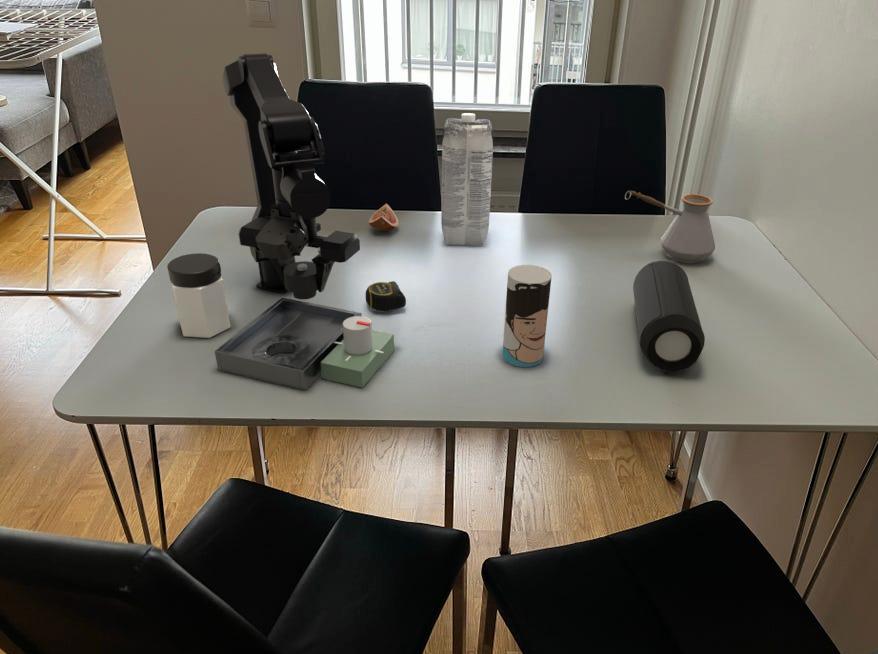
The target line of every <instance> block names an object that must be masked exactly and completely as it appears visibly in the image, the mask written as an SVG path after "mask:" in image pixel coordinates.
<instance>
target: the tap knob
mask: <svg viewBox="0 0 878 654" xmlns="http://www.w3.org/2000/svg"><path fill="white" fill-rule="evenodd" d="M372 330H373V329H372V321H371V319H370V318H368V317H366V316H363V315H362V316H354V317H350V318H347V319H346V320H344V322H343V335H344V348H345V351H346V352H348V353H350V354H354V355H361V354H365V353H368V352H369V351H371V350H372Z"/></svg>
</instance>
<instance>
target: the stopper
mask: <svg viewBox="0 0 878 654" xmlns="http://www.w3.org/2000/svg"><path fill="white" fill-rule="evenodd" d="M283 273H284V281H285V288H286V290H288V292H289V293H292V296H293V297H294V298H295V299H296V300H303V301H304V300H311V299H313V298H315V297H316V296H317V291H318V286H317V274H316V265H315V264H314V263H313V262H312V261H307V260H306V261H305V260H304V261H303V260H302V261H295V263H291V264H289V265H287V266H286V267H285V268H284V269H283Z"/></svg>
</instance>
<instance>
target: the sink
mask: <svg viewBox="0 0 878 654" xmlns="http://www.w3.org/2000/svg"><path fill="white" fill-rule="evenodd" d="M343 322H344V320H343V319H338V318H333V317H329V316H324V315H319V314H314V313H309V312H303V311H299V310H294V309H289V308H283V309H282V310H281V311H280V312H279V313H277V314H276V315H275V316H274V317H272V318H271V319H270V320H269V321H268V322H266V323H265V324H264V325H263V326H262V327H260V328H259V329H258V330H257V331H255V332H254V333H253V334H252V335H251V336H249V337H248V338H247V339H246V340H245V341H243V342H242V343H241V344H240V345H238V346H237V347H236V348H235V349H234V350H232V351H231V352H233V353H238V354H242V355H247V356H251V357H255V358H260V359H264V360H269V361H273V362H277V363H282V364H286V365H291V366H295V367H300V368H302V367H303V366H304V365H305V364H306V363H307V362H308V361H309V360H310V359H311V358H312V357H313V356H314V355H315V354H316V353H317V352H318V351H319V350H320V349H321V348H322V347H323V346H324V345H325V344H326V343H327V342H328V341H329V340H330V339H331V338H332V337H333V336H334V335H335V334H336V333H337V332H338V331H339V330H340V329H341V328H342V327H343ZM280 353H291V354H290V355H287V356H281V357H280V356H279V357H275V356H273V355H275V354H280Z"/></svg>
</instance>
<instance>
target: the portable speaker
mask: <svg viewBox="0 0 878 654" xmlns="http://www.w3.org/2000/svg"><path fill="white" fill-rule="evenodd" d="M632 284H633V285H632V293H633V298H634V299H633V300H634V307H635V317H636V323H637V324H636V325H637V331H638V332H637V333H638V340H639V346H640V350H641V352H642V355H643V356H644V357H645V359H646V360H647V362H649V363H650V364H652V365H653V366H654V368H657V369H658V370H660V371H664V372H668V373H676V372H682V371H685V370H687V369H688V368H690V367H692V366H693V365H694V364H695V363H697V361H698V360H699V358H700V357H701V354H702V352H703V350H704V348H705V343H706V342H705V341H706V340H705V338H706V337H705V333H704V331H703V327H702V324H701V321H700V316H699V312H698V309H697V306H696V303H695V299H694V297H693V296H694V295H693V292H692V289H691V285H690V282H689V277H688V275H687V272H686V271H685V270H684V268H682V267H681V266H680V265H678V264H677V263H674V262H672V261H669V260H667V259H658V260H653V261H651V262H649V263H647V264H646V265H644V266H643V267H642V268H641V269H640V270H639V271H638V273H636V276H635V278H634V280H633V283H632Z"/></svg>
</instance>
